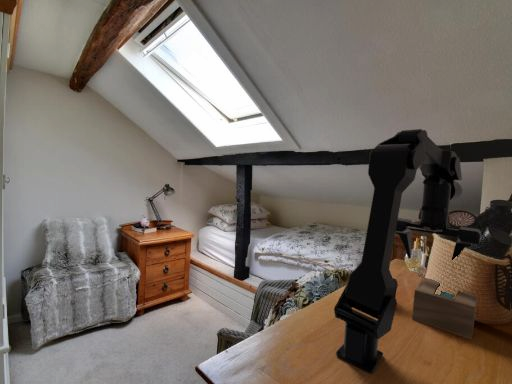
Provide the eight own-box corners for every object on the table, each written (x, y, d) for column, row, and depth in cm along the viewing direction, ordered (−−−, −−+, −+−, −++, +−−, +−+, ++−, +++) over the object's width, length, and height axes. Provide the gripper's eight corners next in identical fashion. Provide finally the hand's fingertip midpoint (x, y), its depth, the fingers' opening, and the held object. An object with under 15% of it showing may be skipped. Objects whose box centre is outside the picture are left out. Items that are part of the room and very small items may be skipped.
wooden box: (471, 339, 57) (475, 307, 56) (412, 319, 64) (414, 290, 63) (474, 319, 65) (478, 291, 64) (421, 303, 72) (424, 277, 72)
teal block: (449, 323, 61) (452, 302, 61) (436, 319, 63) (438, 298, 63) (451, 314, 66) (453, 294, 65) (439, 310, 67) (441, 291, 67)
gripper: (484, 204, 68) (478, 265, 70) (403, 197, 81) (398, 248, 82) (483, 208, 60) (475, 276, 61) (392, 199, 72) (387, 256, 74)
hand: (429, 262), depth 70 cm, fingers open, 9 cm apart
